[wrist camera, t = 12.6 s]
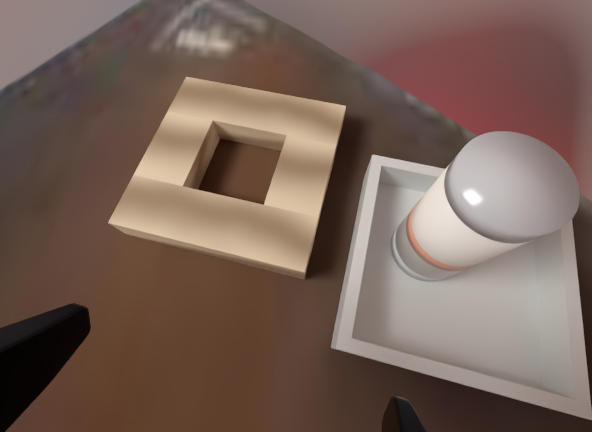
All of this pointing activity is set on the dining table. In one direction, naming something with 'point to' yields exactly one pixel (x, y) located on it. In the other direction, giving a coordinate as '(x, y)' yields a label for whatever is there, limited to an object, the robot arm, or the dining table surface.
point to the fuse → (486, 206)
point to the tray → (464, 305)
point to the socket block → (226, 210)
